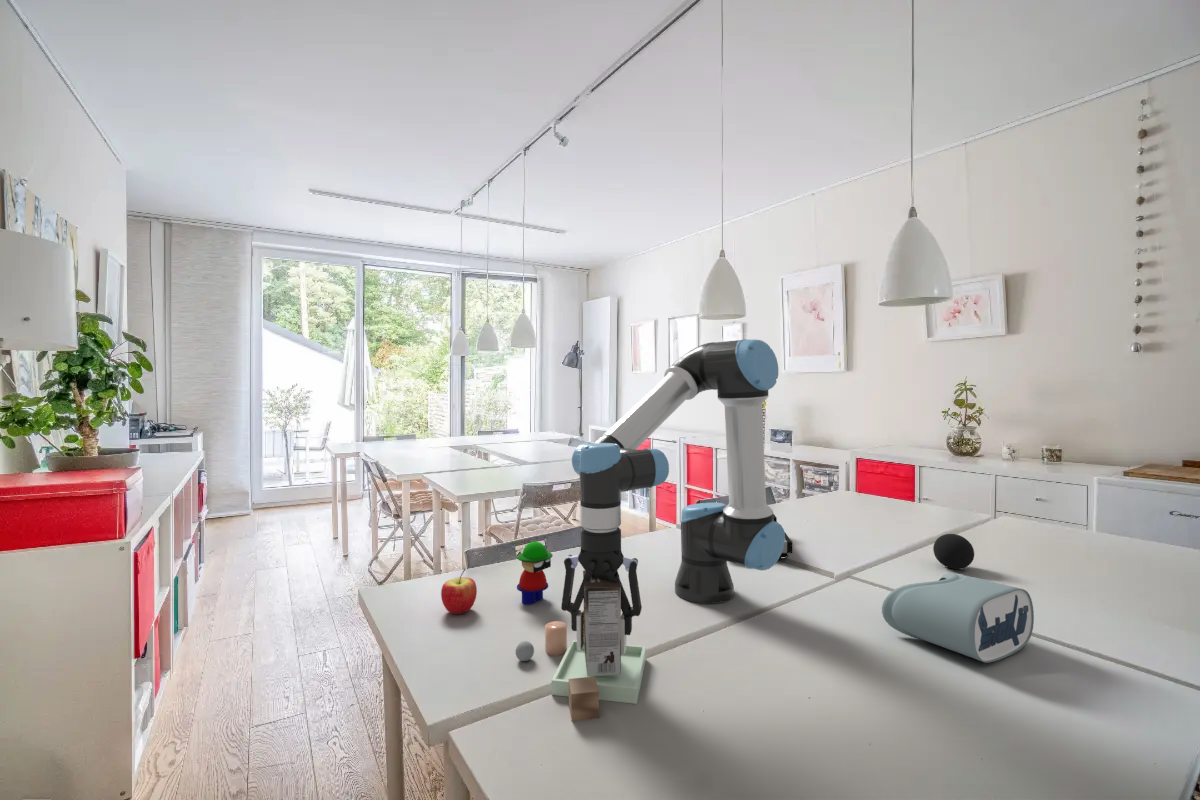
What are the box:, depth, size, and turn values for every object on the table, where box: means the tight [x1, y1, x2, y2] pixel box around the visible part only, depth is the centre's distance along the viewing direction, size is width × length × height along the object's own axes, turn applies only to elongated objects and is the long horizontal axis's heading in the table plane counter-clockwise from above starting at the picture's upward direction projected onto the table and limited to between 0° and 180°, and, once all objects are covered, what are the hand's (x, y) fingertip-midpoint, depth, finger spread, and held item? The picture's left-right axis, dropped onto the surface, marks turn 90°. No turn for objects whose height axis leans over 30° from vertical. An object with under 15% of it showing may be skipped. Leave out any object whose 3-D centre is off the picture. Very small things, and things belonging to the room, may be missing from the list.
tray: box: [551, 639, 647, 705], centre depth 99 cm, size 15×15×3 cm
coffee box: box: [582, 569, 622, 676], centre depth 98 cm, size 9×6×16 cm
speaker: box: [932, 533, 975, 570], centre depth 155 cm, size 10×10×10 cm
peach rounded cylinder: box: [544, 620, 568, 656], centre depth 108 cm, size 4×4×5 cm
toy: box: [516, 540, 554, 606], centre depth 133 cm, size 9×9×15 cm
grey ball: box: [515, 640, 535, 662], centre depth 105 cm, size 4×4×4 cm
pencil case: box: [881, 572, 1035, 664], centre depth 112 cm, size 22×19×13 cm
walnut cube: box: [568, 677, 600, 722], centre depth 88 cm, size 4×4×4 cm
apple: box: [440, 568, 478, 615], centre depth 127 cm, size 8×8×10 cm
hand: (601, 648), depth 99 cm, fingers closed on coffee box, 7 cm apart
